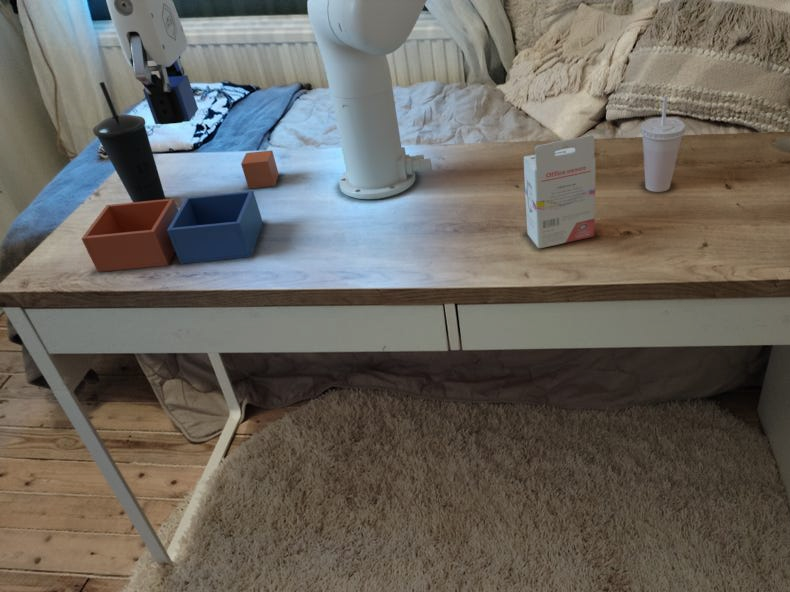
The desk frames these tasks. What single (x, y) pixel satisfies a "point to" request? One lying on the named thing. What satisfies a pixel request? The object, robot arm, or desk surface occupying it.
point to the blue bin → (216, 227)
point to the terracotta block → (260, 169)
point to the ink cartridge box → (560, 191)
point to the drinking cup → (130, 153)
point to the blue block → (179, 97)
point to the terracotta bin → (131, 235)
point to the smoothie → (661, 149)
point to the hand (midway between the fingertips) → (177, 114)
